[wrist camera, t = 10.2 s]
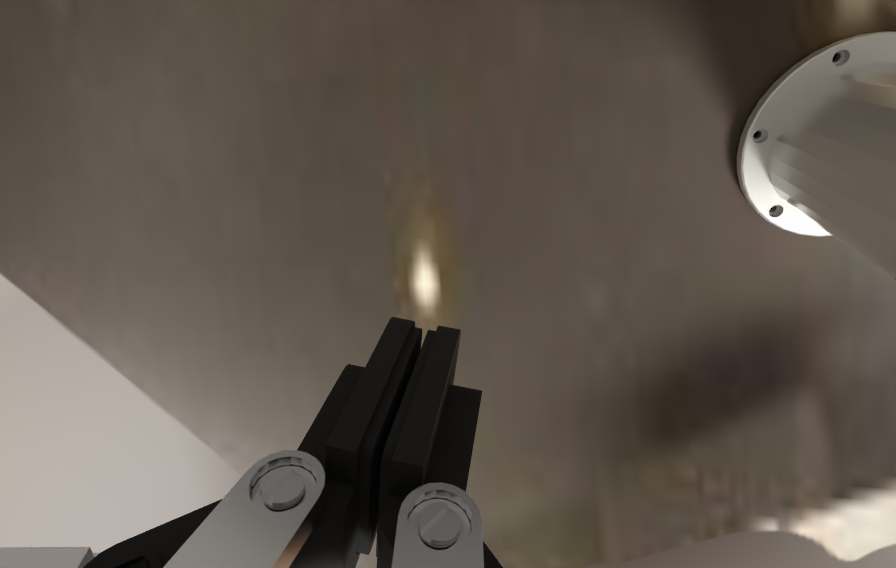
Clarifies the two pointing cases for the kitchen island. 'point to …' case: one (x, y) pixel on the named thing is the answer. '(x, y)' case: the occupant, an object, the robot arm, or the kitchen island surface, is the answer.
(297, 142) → the kitchen island surface
